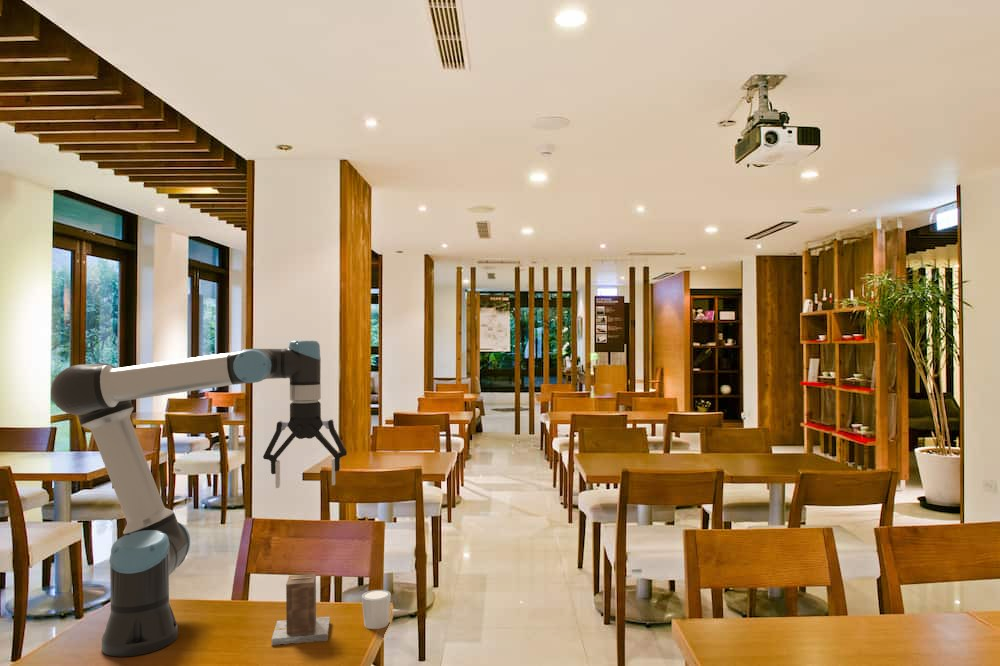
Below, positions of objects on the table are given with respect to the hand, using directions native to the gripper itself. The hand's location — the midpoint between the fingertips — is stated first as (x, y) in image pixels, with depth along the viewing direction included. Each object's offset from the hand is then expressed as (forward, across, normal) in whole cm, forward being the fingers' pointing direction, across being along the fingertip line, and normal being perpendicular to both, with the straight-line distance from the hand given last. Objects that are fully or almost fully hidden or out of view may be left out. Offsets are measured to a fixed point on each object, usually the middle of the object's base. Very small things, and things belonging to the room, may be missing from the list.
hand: (305, 485), depth 174 cm
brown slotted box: (+29, 0, +16) cm, 33 cm away
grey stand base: (+31, 0, +16) cm, 35 cm away
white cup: (+31, -17, +14) cm, 38 cm away
